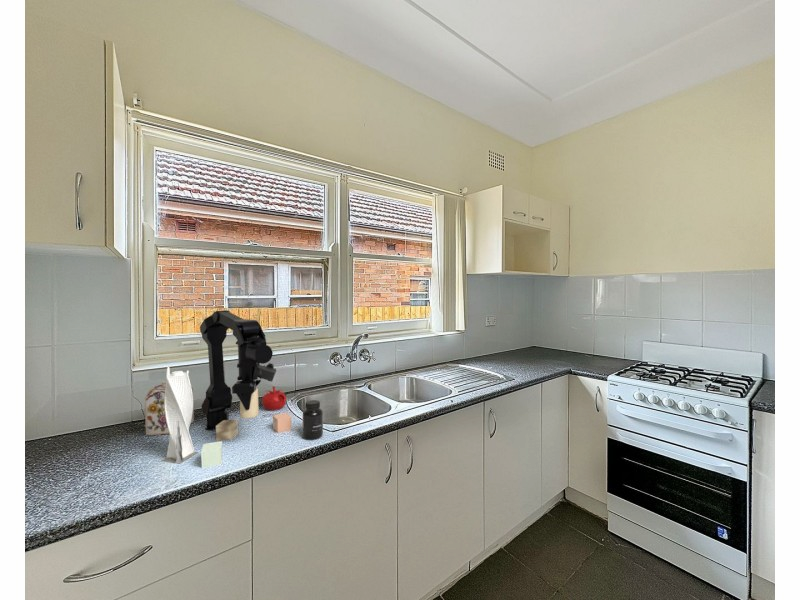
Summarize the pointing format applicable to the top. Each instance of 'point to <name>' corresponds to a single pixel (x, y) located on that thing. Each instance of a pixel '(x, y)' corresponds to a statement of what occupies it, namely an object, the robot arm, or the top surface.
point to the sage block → (211, 454)
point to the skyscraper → (178, 416)
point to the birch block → (227, 430)
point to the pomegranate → (274, 400)
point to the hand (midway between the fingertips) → (249, 406)
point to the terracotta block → (282, 422)
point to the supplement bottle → (312, 420)
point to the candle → (253, 407)
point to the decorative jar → (157, 411)
